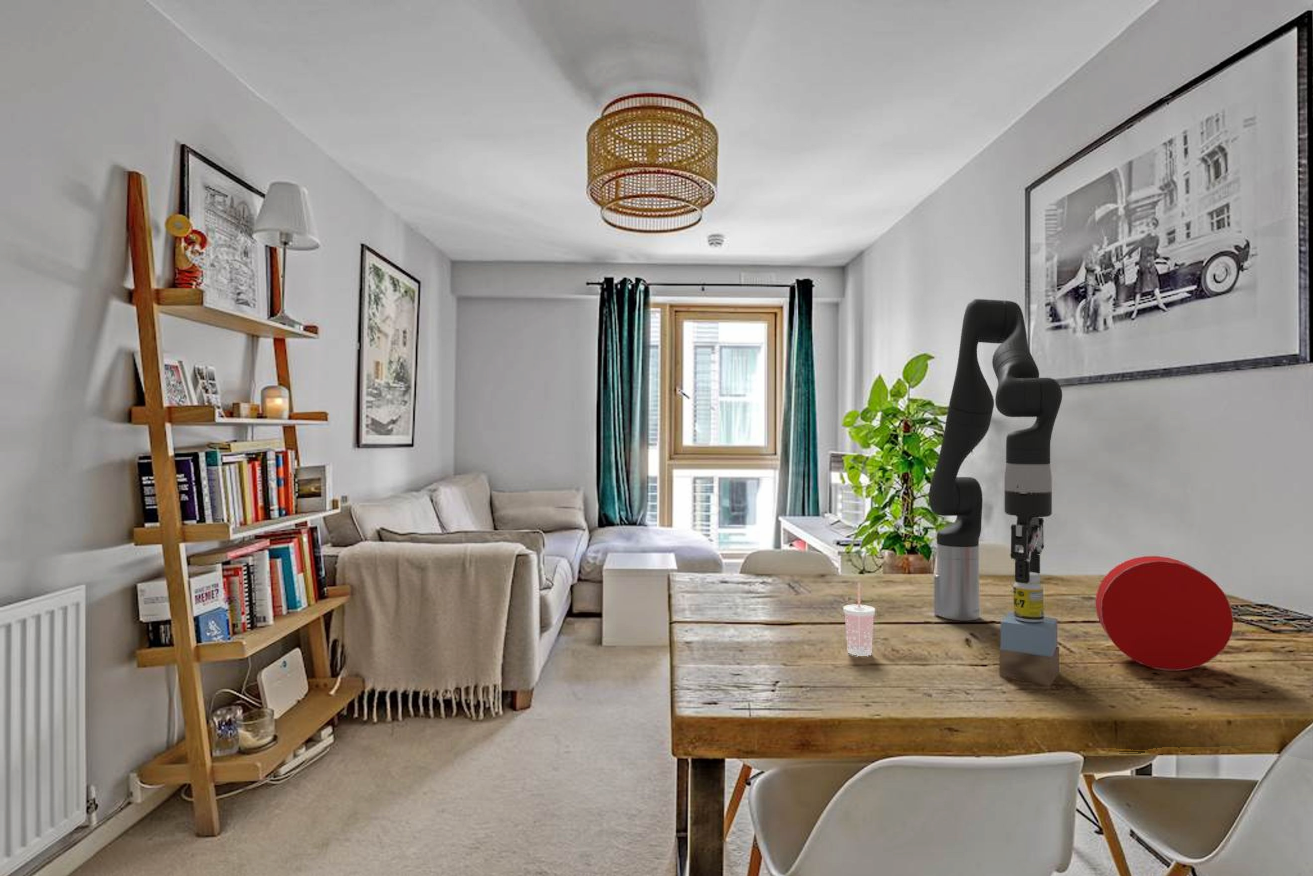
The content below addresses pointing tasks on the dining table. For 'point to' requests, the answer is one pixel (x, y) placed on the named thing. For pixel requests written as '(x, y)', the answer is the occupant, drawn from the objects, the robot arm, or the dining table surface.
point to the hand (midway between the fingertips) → (1027, 578)
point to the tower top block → (1029, 636)
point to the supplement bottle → (1029, 600)
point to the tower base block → (1029, 666)
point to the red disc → (1164, 613)
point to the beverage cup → (859, 628)
